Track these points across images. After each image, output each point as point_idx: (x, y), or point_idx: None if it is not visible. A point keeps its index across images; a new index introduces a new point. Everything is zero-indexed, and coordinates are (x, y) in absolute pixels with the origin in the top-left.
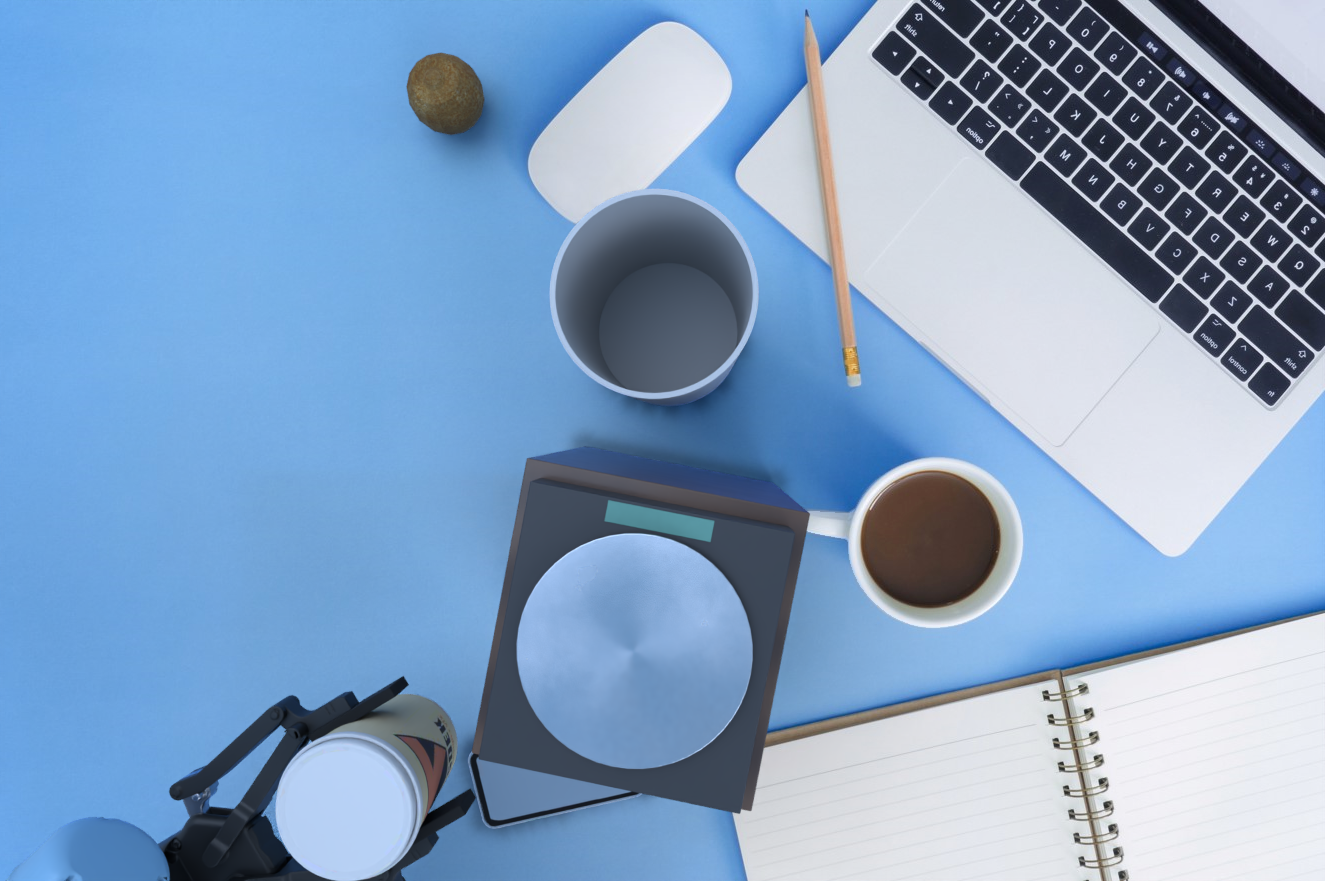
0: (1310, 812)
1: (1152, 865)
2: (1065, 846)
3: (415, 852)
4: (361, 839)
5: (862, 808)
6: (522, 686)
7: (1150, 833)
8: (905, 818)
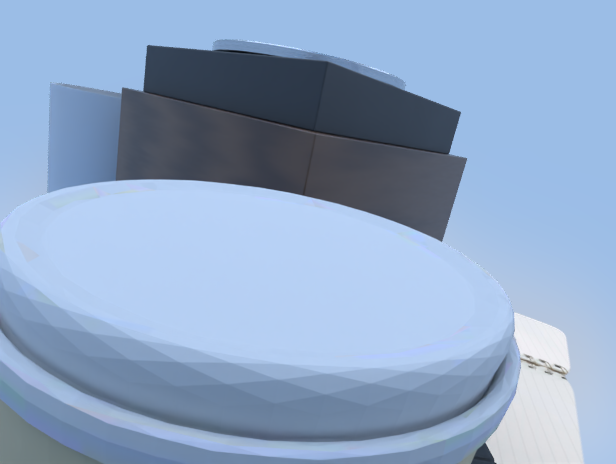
0: (533, 319)
1: (566, 361)
2: (555, 378)
3: (476, 460)
4: (376, 260)
5: (522, 441)
6: (283, 46)
7: (545, 353)
8: (532, 425)
